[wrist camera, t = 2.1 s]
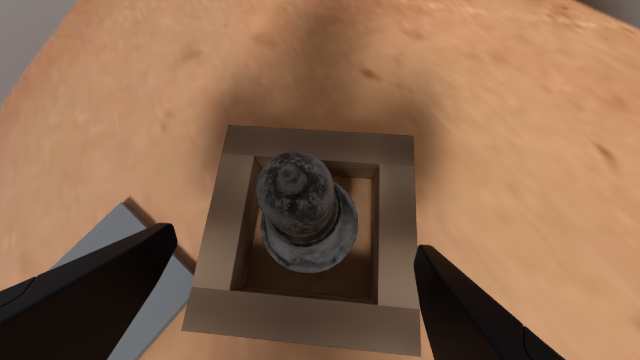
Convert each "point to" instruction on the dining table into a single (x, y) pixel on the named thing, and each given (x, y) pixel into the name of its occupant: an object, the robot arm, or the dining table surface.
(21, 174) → the dining table surface
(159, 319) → the coaster
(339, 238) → the grey chess piece
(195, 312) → the collar
